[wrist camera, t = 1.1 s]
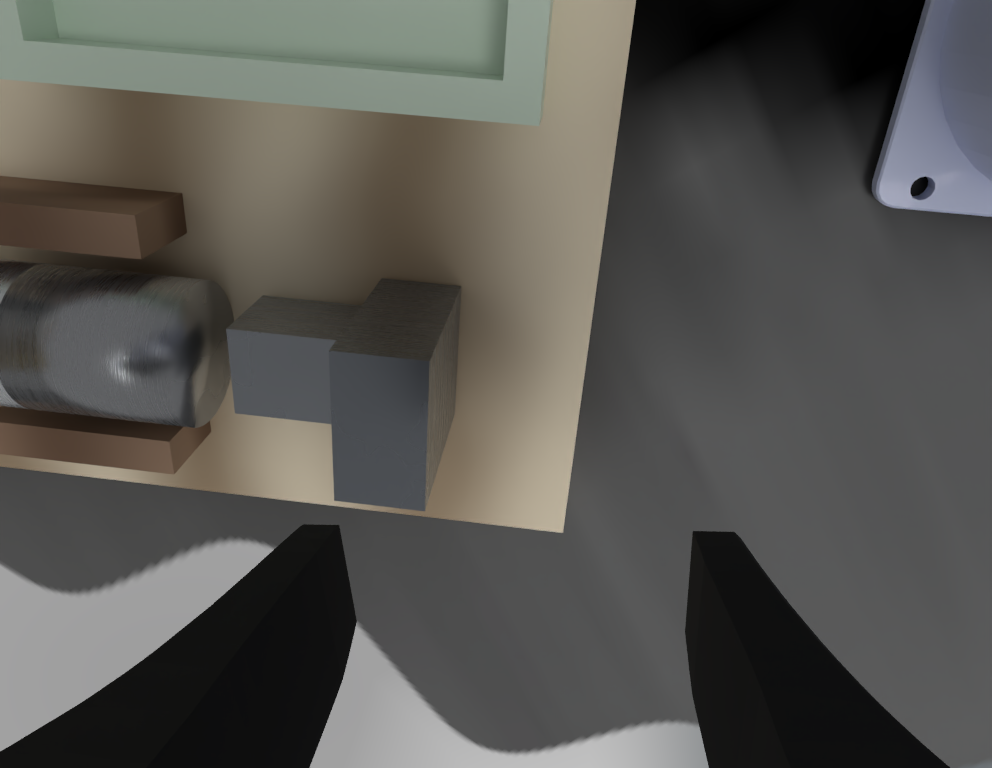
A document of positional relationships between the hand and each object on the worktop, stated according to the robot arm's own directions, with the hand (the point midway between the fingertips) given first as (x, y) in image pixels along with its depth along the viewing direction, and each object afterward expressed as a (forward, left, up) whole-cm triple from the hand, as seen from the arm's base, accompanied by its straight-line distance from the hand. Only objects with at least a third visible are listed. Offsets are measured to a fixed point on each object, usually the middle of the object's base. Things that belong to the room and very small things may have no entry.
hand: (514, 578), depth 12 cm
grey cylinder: (+12, 0, -8) cm, 14 cm away
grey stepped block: (+5, 0, -8) cm, 9 cm away
